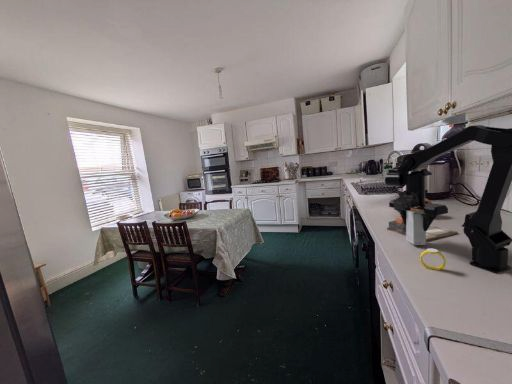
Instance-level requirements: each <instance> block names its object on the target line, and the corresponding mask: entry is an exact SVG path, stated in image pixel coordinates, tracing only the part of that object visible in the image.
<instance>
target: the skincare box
mask: <svg viewBox="0 0 512 384" xmlns="http://www.w3.org/2000/svg"><path fill="white" fill-rule="evenodd" d="M421 214H423V212H421V211H419V210H407V211H406V235H405V236H406V237H405V238H406V239H405V240H407V241H408V242H409V243H411V244H412V245H414V246H426V245H427V242H426V231H424V228H423V217H422V216H421Z"/></svg>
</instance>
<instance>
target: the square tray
mask: <svg viewBox="0 0 512 384" xmlns="http://www.w3.org/2000/svg"><path fill="white" fill-rule="evenodd" d="M386 230H388V231H392V232H395V233H397V234H400V235H404V236H406V226H405V224H400V223H396V219H395V220H392V221H388V227H386ZM458 234H459V233H458V231H455V230H452V229H447V228H443V227H439V226H436V225H432V224H431V225H430V227H429V228H428V230H427V231H426V243H427V242H430V241H434V240H437V239H442V238H446V237H451V236H455V235H458Z"/></svg>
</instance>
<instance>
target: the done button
mask: <svg viewBox="0 0 512 384" xmlns="http://www.w3.org/2000/svg"><path fill="white" fill-rule="evenodd" d="M395 220H396V223H400V224H404V221H403V219H402V217H401V215H400V216H397V217H395Z"/></svg>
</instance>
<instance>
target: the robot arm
mask: <svg viewBox="0 0 512 384" xmlns="http://www.w3.org/2000/svg"><path fill="white" fill-rule="evenodd" d="M474 141H475V142H478V143H481V144H485V145H487V146H489V145H490V146H491V148H490V154H491V158H492V165H491V167H490V172H489V174H488V176H487V177H488V178H487V179H486V184H485V186H484V189H483V192H482V195H481V198H480V202H479V204H478V207H477V209H476V211H473V212H470V213H467V214H466V213H465V217H464V222H463V224H461V228H463V229H462V230H463V234H464V235H465V236H466V237H467V238H468V241H469V243H470V245H471V246H470V247H471V261H469V263H468V264H469V265H472V266H474V267H478V268H480V269H483V270H486V271H489V272H492V273H494V274H498V273H502V272H505V271H507V270H510V269H512V266H510V265H508V264H509V263H508V261H509V248H508V246H510V245H511V244H512V238H511V237H510V236H509V235H508V234H507V233H506V232H505V231H504V230H502V227H503V219H502V215H501V211H502V208H503V206H504V203H505V200H506V197H507V196H508V192H509V189H510V187H511V184H512V128H504V127H495V126H494V127H493V126H486V125H482V124H477V125H476V124H475V125H469V126H467V127H465V128H464V129H462V130H461V131H459V132H457V133H455V134H453V135H451V136H449V137H447V138H445V139H443V140H442V141H439V142H437V143H436V144H434V145H431V146H429V147H428V148H425V149H422V150H421V149H420V150H417V151H415V152H412V153H409V154H406V155H405V156H404V157H403V158H402V162H401V163H400V165H399V166H398V168H397V169H394V168H393V169H388V173H387V174H386V176H385V178H384V182H385V185H387V186H388V187H401V188H403V187H405V190H403V191H402V195H401V196H399V197H397V198H394V199H390V201H389V202H388V207H389V208H393V210H395V211H396V212H398V213H399V215H400V216H401V217H402V219H403V221H404V224H405V226H406V211H407V210H411V208H415V209H420V210H424V212H425V213H423V214H421V216H422V217H423V228H424V231H427V230H428V228H429V227H430V225H431V226H432V223H433V222H434V220H435V219H436V218H437V216H441V215H446V214H448V213H449V208H448V206H447V205H446V204H442V203H441V204H440V203H433V204H431V205H425V204H428V201H425V198H426V194H427V193H429V191H428V189H426V177H427V176H433V175H432V174H433V173H432V172H431V171H429V170H428V169H427V168H426V167H427V166H429V165H430V164H432V163H433V162H434V161H436V159H438V158H440V157H442V156H444V155H446V154H448V153H450V152H452V151H455V150H457V149H460V148H462V147H464V146H466V145H467V144H470V143H472V142H474ZM409 172H410V173H409ZM418 206H419V207H418Z"/></svg>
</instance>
